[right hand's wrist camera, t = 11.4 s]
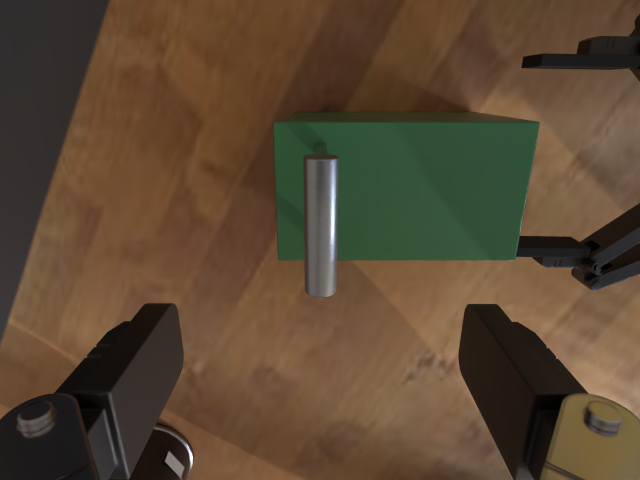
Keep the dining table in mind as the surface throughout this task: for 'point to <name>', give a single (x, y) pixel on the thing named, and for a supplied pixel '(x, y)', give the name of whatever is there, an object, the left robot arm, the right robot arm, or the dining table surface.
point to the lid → (399, 191)
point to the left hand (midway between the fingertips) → (513, 160)
